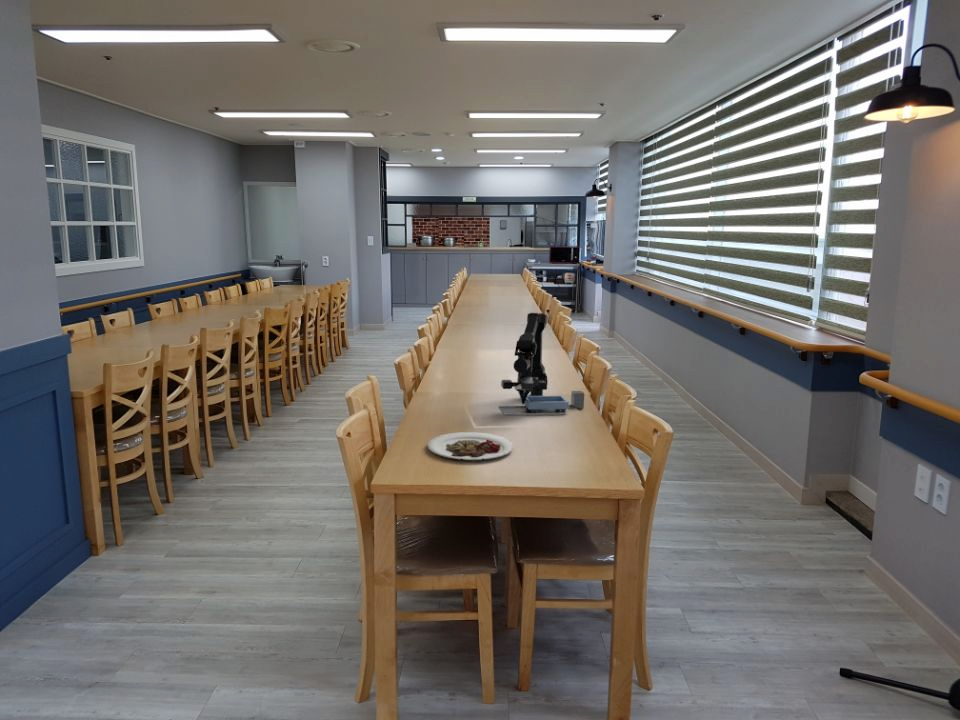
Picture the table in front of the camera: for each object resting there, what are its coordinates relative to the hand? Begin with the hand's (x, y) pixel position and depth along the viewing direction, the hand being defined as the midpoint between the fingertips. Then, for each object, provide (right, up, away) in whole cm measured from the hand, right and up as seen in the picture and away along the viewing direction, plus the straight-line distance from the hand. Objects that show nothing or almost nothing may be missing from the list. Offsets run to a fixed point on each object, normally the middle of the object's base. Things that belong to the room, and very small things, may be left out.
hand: (522, 404), depth 291 cm
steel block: (+24, -2, +11) cm, 27 cm away
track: (+4, -3, +1) cm, 6 cm away
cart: (+10, -3, +2) cm, 10 cm away
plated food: (-22, -13, -49) cm, 55 cm away
